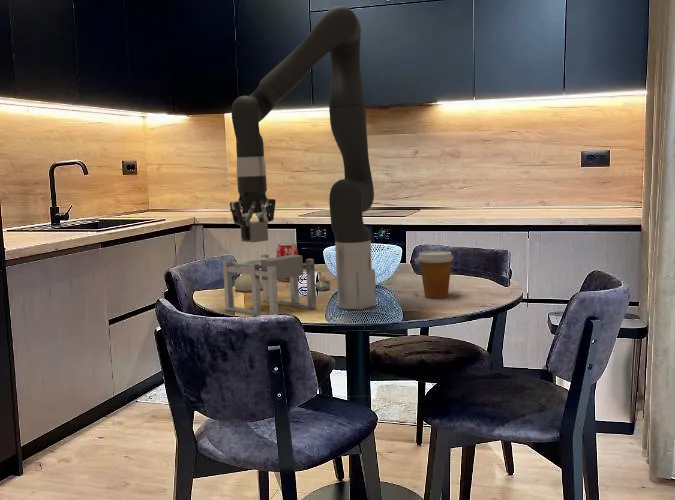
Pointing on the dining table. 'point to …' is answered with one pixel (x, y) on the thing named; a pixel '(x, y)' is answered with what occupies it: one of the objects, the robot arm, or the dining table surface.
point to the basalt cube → (257, 231)
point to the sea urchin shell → (245, 283)
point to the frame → (268, 288)
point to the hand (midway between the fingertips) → (255, 239)
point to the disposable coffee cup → (435, 272)
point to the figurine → (323, 283)
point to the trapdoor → (278, 265)
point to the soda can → (286, 252)
